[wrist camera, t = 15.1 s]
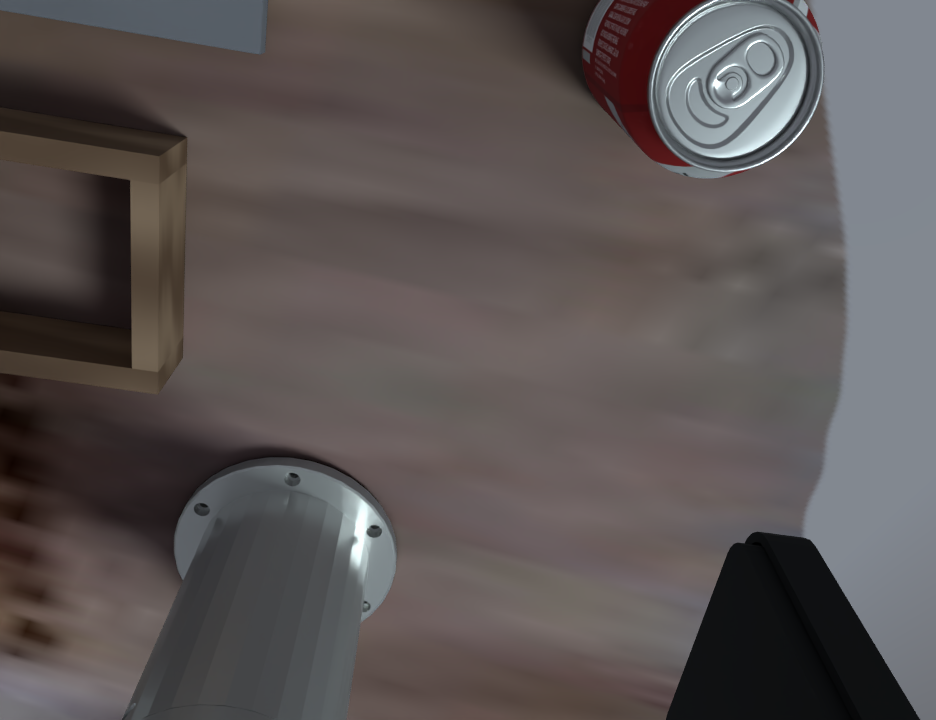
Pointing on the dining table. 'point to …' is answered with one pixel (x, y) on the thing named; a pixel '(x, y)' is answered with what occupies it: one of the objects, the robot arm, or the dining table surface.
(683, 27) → the soda can
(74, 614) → the dining table surface
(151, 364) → the holder
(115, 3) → the mat
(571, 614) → the dining table surface
